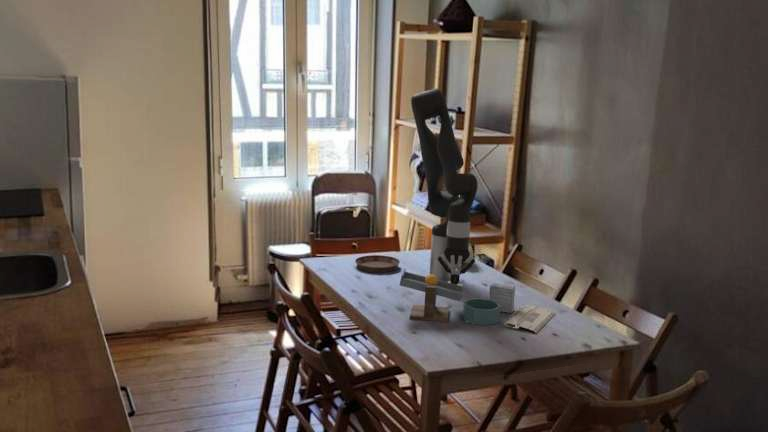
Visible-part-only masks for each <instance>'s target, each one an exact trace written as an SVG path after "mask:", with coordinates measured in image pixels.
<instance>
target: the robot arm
mask: <svg viewBox="0 0 768 432" xmlns="http://www.w3.org/2000/svg"><path fill="white" fill-rule="evenodd" d="M410 103H411V105H410V106H411V109H412V114H413V118H414V122H415V126H416V131H417V135H418V140H419V147H420V153H421V159H422V164H423V165H422V166H423V168H424V174H425V180H426V187H427V201H428V209H429V211H430V213H431V215H433V216H437V217H442V218H446V221H445V222H442V223H438V224H435V225H433V226H432V229H431V242H430V243H431V244H430V246H431V247H430V262H429V275H430V274H433V275H435V276H436V277H437V279H438V280H440V281H444V282H448V281H451V283H452V284H455V285H457V284H460V278H461V276H460V275H464V274H466V273H467V272H468V271H469V269H470V268H471V267H473V265H474V264H475V263H476V258H474V257H473V258H472V257H471V256H470V253H469V243H470V236H471V235H470V234H471V221H470V220H471V209H472V206H473V204H474V200H475V198H476V196H477V195H476V194H477V191H478V188H479V185H478V179H477V177H476V176H475V175H474V174H473V173H470V172H462V173H458V172H457V171H458V170H460V169H461V168H463V167H464V165H465V163H464V162H465V161H464V158H463V155H462V153H461V151H460V148H459V145H458V143H457V140H456V136H455V134H454V133H455V132H454V129H453V126H452V121H451V116H450V113H449V109H448V106H447V102H446V99H445V97H444V94H443V92H442V91H441V90H440V89H439V88H432V89H429V90H425V91H424V90H423V91H421V92H418V93H415V94H413V95H412V96H411V100H410ZM436 117H439V118H440V129H439V134H438V136H437V135H436V134H435V133H434V132H433V131H432V130H431V129H430V127H429V126H428V125H427V124H426V120H430V119H433V118H436ZM442 179H443V180H444V181H443V182H444V188H445V191H441V190H440V183H441V180H442ZM467 259H468V262H467V263H464V262H465V261H466V260H467ZM464 264H465V265H464ZM462 265H464V266H463V268H461V267H462Z"/></svg>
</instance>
